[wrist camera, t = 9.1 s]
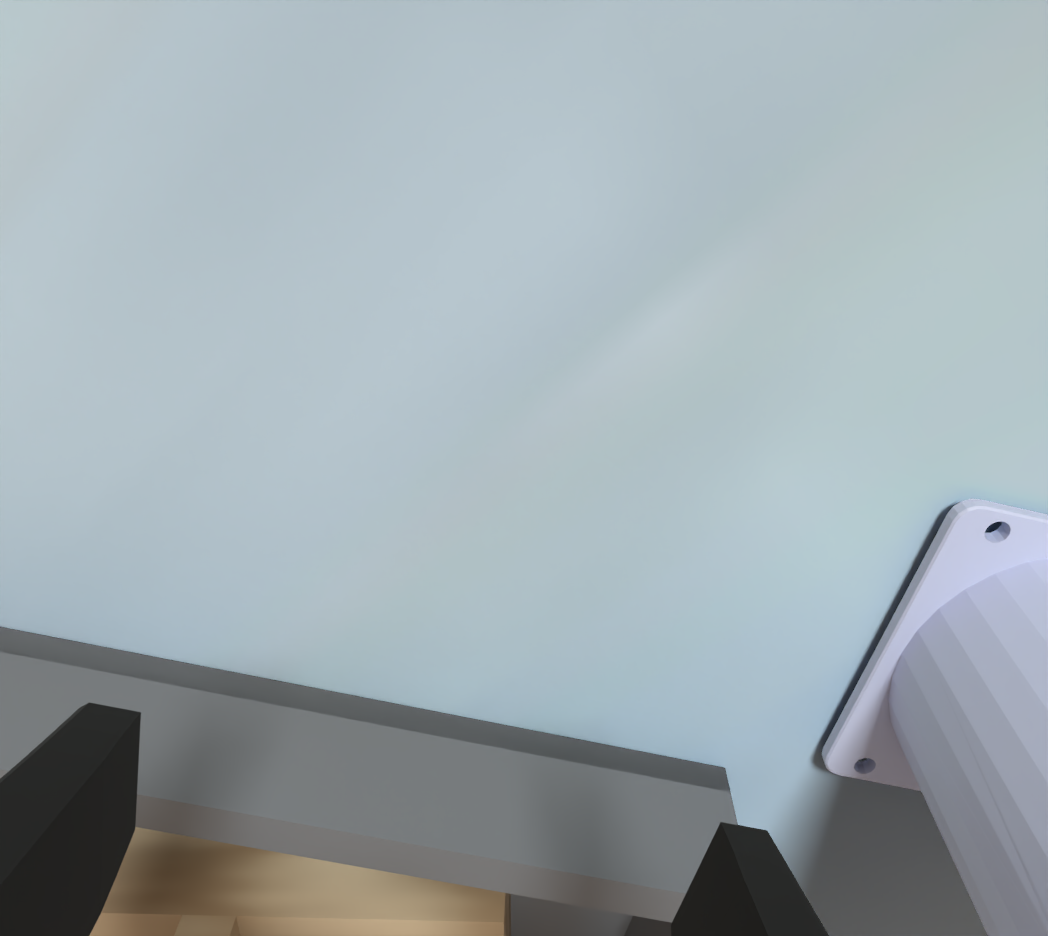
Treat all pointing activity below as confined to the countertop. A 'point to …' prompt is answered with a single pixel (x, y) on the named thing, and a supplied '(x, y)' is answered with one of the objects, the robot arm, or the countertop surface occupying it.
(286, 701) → the charcoal crate
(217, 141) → the countertop surface
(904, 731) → the robot arm
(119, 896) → the pine crate
